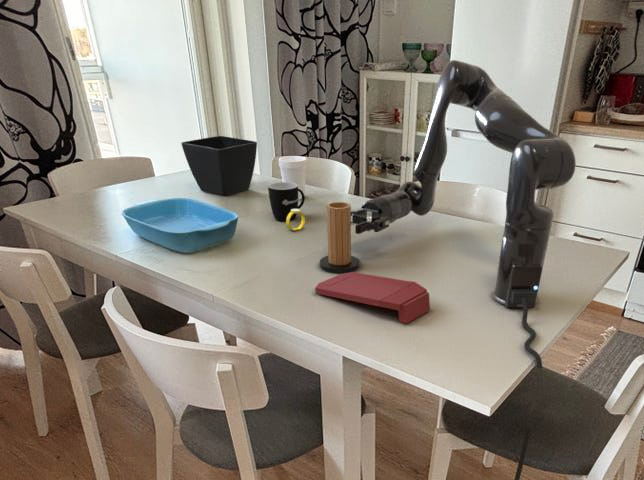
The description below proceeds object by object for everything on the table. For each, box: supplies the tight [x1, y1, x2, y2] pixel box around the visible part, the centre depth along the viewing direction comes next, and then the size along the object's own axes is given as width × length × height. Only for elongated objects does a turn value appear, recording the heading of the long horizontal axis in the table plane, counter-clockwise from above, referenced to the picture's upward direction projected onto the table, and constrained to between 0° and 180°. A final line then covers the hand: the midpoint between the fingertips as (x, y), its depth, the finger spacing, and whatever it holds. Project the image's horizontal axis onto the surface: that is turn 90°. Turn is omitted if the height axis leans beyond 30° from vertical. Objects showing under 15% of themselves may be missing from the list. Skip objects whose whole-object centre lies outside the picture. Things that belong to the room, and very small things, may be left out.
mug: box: [267, 181, 305, 223], centre depth 161 cm, size 12×9×10 cm
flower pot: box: [180, 135, 258, 197], centre depth 186 cm, size 19×19×17 cm
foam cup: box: [278, 155, 308, 200], centre depth 181 cm, size 10×9×13 cm
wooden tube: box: [326, 201, 352, 265], centre depth 126 cm, size 6×6×14 cm
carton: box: [314, 271, 431, 324], centre depth 114 cm, size 12×5×25 cm
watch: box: [285, 208, 306, 232], centre depth 152 cm, size 6×3×6 cm, turn 134°
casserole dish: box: [121, 197, 239, 254], centre depth 145 cm, size 37×22×7 cm, turn 49°
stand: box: [319, 255, 361, 274], centre depth 127 cm, size 10×10×12 cm
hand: (342, 226), depth 126 cm, fingers open, 8 cm apart
